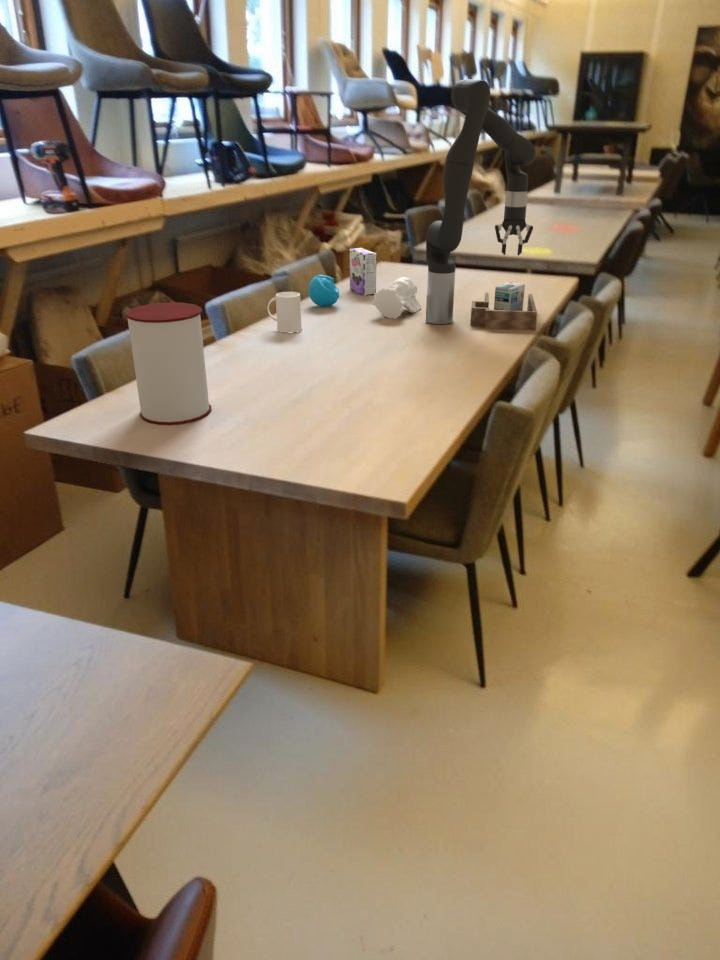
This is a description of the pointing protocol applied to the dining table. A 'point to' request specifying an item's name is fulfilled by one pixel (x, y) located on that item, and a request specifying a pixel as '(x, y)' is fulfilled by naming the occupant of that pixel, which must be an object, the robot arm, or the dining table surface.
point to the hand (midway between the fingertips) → (511, 254)
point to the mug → (287, 311)
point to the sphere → (323, 291)
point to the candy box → (363, 271)
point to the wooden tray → (503, 316)
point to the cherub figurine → (397, 298)
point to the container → (169, 362)
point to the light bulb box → (509, 296)
